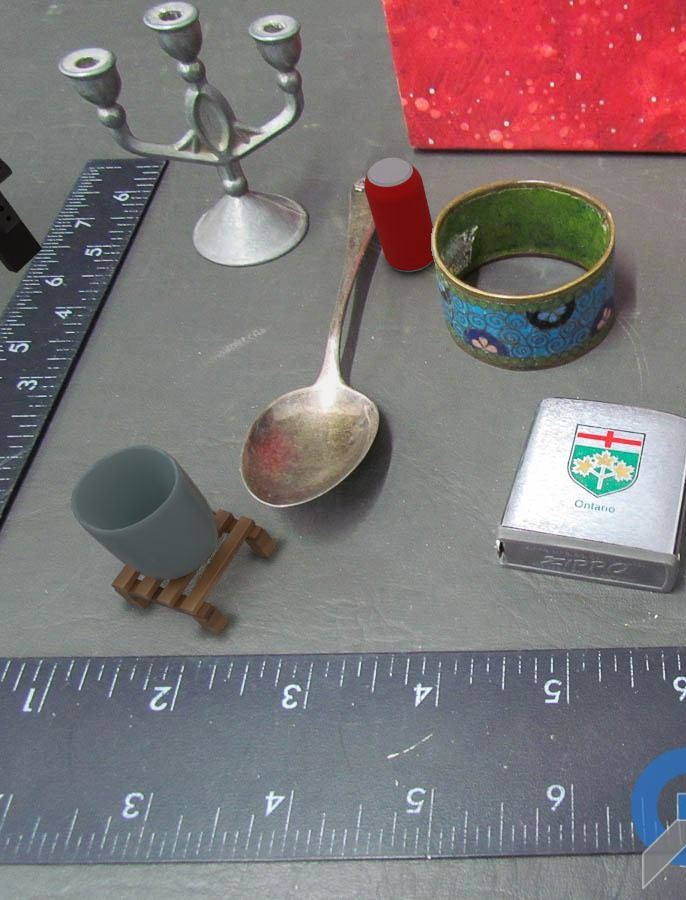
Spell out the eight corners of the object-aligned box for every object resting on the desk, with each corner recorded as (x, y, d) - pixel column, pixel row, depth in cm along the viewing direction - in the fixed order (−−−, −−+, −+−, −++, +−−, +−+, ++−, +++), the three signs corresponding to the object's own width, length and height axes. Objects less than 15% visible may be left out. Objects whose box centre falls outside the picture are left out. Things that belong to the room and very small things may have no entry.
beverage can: (381, 276, 94) (353, 188, 84) (392, 239, 97) (367, 151, 88) (434, 277, 94) (412, 189, 84) (443, 241, 97) (424, 152, 87)
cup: (117, 555, 69) (49, 492, 61) (197, 494, 72) (143, 427, 64) (169, 611, 66) (104, 552, 58) (249, 545, 69) (200, 481, 61)
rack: (130, 604, 71) (104, 582, 67) (192, 518, 76) (170, 493, 72) (220, 635, 69) (198, 613, 66) (276, 545, 74) (259, 520, 70)
